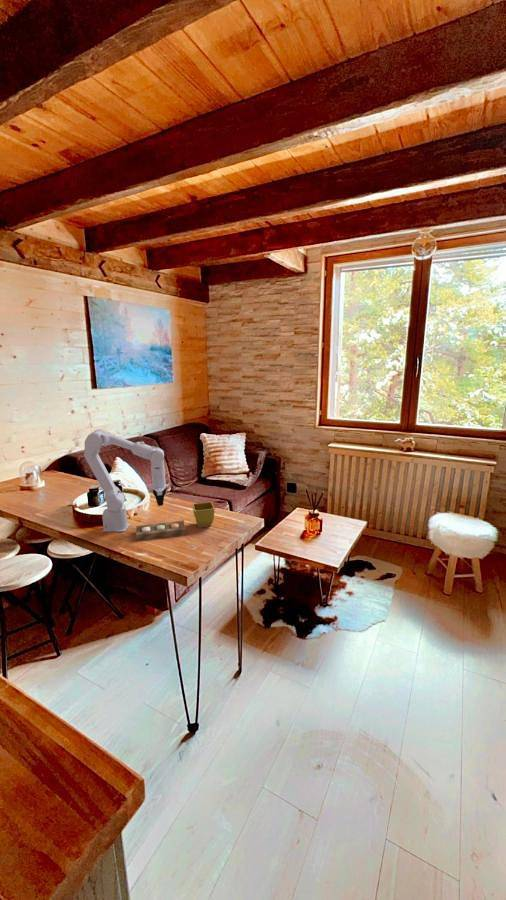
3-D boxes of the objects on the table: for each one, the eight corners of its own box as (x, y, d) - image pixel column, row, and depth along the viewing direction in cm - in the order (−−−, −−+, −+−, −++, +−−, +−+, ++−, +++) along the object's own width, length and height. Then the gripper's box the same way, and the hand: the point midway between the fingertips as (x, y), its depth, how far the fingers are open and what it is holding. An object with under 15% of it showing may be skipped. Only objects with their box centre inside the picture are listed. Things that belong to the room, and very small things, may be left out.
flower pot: (195, 530, 164) (194, 510, 162) (193, 522, 172) (192, 503, 170) (215, 527, 166) (214, 508, 164) (212, 519, 174) (211, 501, 172)
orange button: (171, 532, 160) (170, 527, 160) (170, 529, 164) (170, 523, 163) (179, 531, 161) (179, 526, 161) (179, 528, 165) (178, 523, 164)
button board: (136, 540, 154) (135, 535, 154) (136, 531, 163) (136, 525, 162) (185, 534, 159) (185, 529, 159) (183, 525, 168) (183, 520, 167)
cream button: (141, 536, 157) (141, 530, 157) (142, 532, 161) (141, 527, 160) (150, 535, 158) (150, 529, 158) (150, 531, 162) (150, 526, 161)
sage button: (156, 534, 159) (156, 529, 158) (156, 530, 162) (156, 525, 162) (165, 533, 160) (165, 528, 159) (165, 529, 163) (164, 524, 163)
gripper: (168, 480, 158) (170, 510, 161) (167, 470, 171) (168, 498, 175) (151, 481, 156) (153, 512, 159) (151, 471, 170) (153, 500, 173)
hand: (160, 505), depth 167 cm, fingers closed
